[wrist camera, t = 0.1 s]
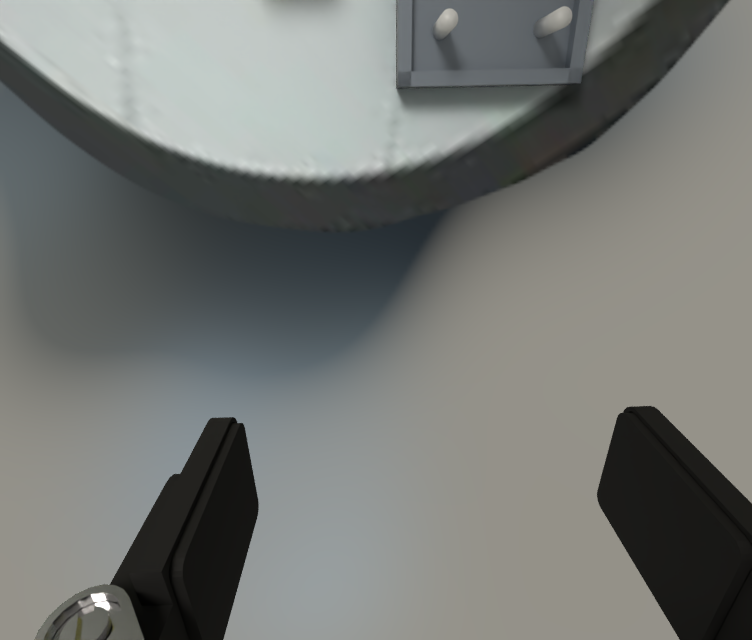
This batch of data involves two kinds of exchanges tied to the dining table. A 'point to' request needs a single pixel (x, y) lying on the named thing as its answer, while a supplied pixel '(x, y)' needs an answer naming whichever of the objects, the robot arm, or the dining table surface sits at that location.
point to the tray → (490, 42)
